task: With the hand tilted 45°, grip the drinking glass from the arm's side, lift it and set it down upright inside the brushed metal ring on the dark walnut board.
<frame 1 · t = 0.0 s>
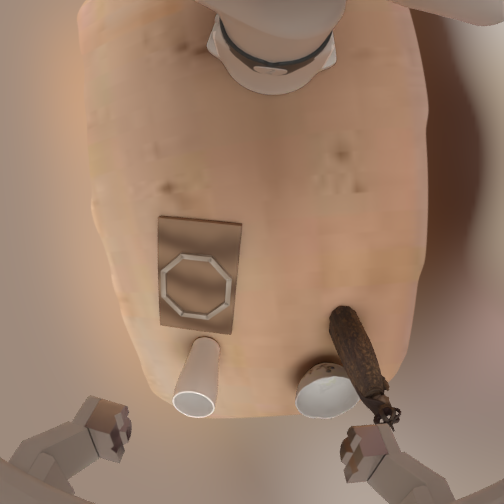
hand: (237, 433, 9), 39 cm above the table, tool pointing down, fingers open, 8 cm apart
teacup: (323, 375, 59), on the table
statue: (344, 325, 54), on the table
walnut board: (197, 277, 51), on the table
drinking glass: (206, 346, 56), on the table
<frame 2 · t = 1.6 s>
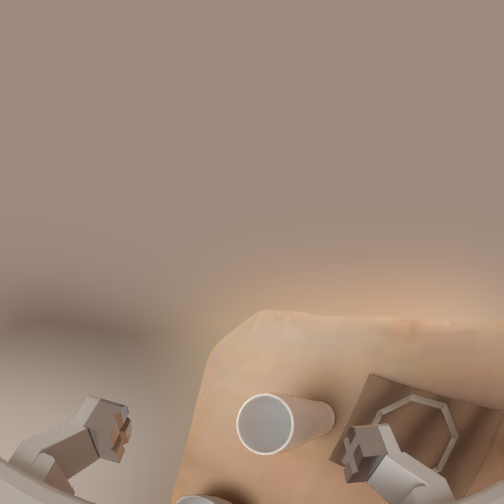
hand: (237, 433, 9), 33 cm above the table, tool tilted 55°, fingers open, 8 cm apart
walnut board: (417, 441, 28), on the table
drinking glass: (318, 418, 37), on the table
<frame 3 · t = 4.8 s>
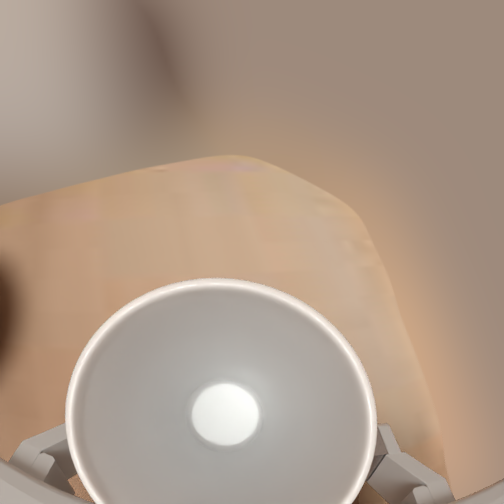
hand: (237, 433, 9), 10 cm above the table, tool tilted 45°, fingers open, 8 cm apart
drinking glass: (224, 415, 18), on the table
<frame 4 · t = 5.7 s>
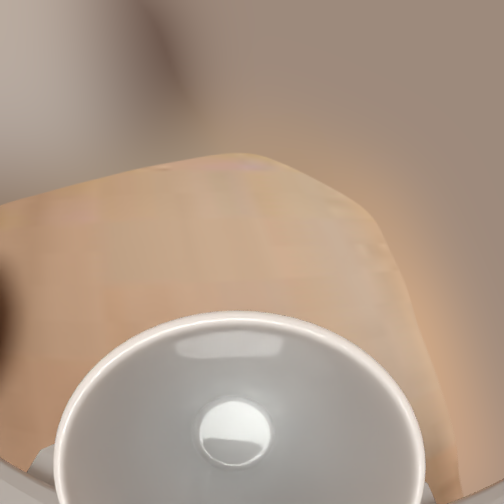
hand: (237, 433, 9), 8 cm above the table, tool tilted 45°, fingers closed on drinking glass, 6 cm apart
drinking glass: (233, 431, 17), on the table, touching gripper
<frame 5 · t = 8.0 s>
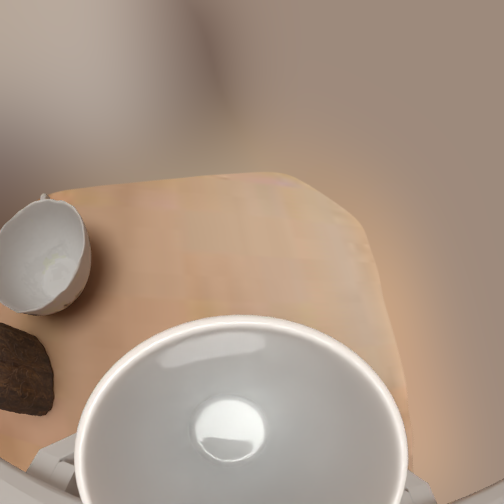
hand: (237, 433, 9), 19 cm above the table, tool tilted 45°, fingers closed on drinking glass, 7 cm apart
teacup: (63, 272, 32), on the table
statue: (34, 375, 25), on the table
drinking glass: (228, 429, 17), point 10 cm above the table, touching gripper
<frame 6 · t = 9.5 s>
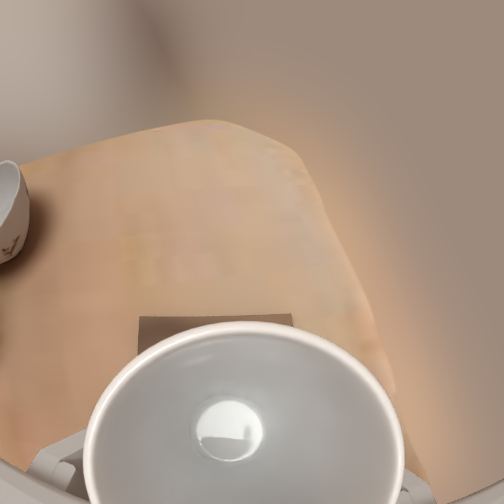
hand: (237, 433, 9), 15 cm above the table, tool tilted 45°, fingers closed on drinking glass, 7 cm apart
teacup: (11, 234, 29), on the table
walnut board: (219, 434, 21), on the table
drinking glass: (226, 428, 18), point 5 cm above the table, touching gripper
when the fingers open (11 cm above the table, at t = 10.9 s): drinking glass stays where it is, resting on walnut board.
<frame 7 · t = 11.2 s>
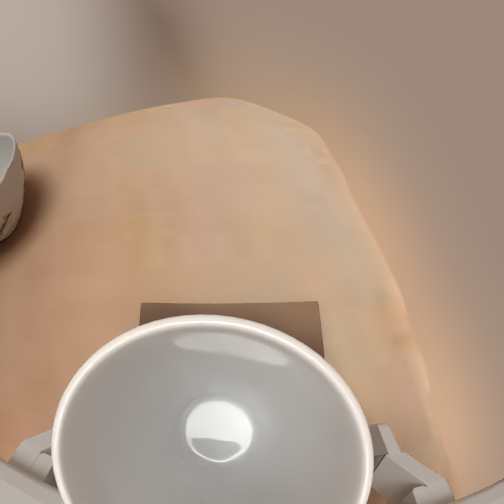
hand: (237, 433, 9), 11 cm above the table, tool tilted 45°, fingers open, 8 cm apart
teacup: (4, 214, 26), on the table
walnut board: (233, 442, 18), on the table
drinking glass: (217, 429, 17), point 1 cm above the table, touching gripper, walnut board
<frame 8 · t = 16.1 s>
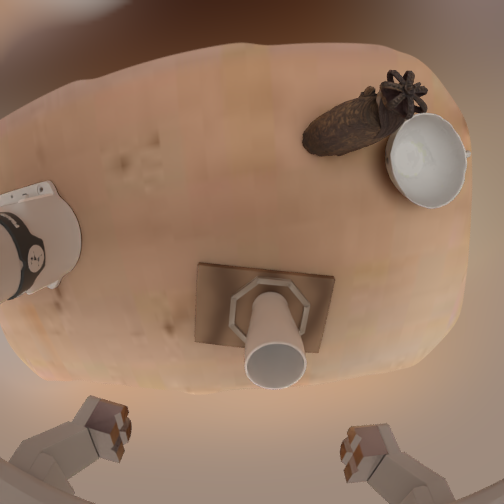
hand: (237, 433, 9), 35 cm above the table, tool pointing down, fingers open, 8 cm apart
teacup: (412, 159, 40), on the table
statue: (333, 134, 40), on the table
walnut board: (262, 309, 47), on the table
drinking glass: (270, 306, 45), point 1 cm above the table, touching walnut board
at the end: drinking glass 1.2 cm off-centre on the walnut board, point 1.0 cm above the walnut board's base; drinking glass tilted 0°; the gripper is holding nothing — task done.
